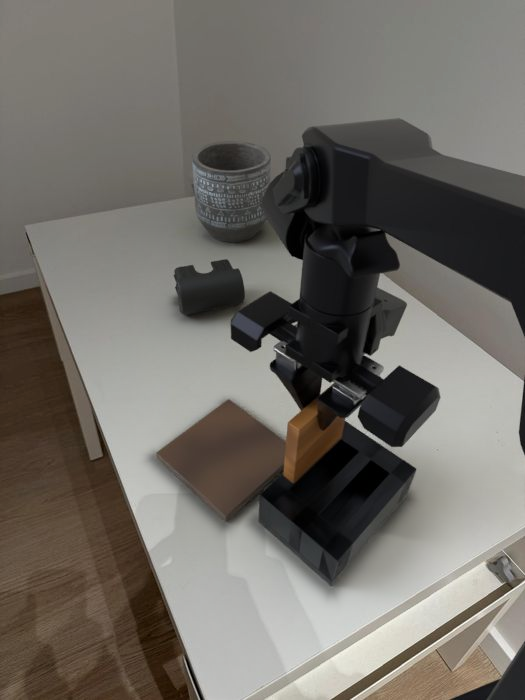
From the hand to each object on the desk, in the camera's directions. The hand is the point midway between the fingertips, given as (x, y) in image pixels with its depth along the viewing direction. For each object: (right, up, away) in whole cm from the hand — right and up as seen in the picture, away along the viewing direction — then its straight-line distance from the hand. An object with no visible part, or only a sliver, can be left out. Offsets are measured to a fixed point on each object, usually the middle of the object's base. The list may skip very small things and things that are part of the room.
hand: (318, 422), depth 50 cm
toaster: (+3, -11, +7) cm, 13 cm away
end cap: (-14, +14, +34) cm, 39 cm away
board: (-10, -6, +12) cm, 17 cm away
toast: (0, -4, +4) cm, 6 cm away
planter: (-11, +31, +52) cm, 62 cm away
